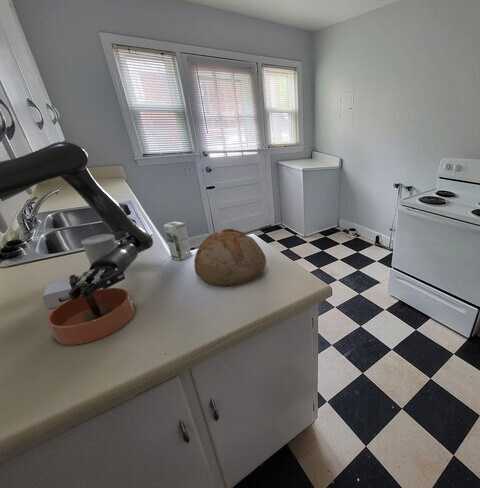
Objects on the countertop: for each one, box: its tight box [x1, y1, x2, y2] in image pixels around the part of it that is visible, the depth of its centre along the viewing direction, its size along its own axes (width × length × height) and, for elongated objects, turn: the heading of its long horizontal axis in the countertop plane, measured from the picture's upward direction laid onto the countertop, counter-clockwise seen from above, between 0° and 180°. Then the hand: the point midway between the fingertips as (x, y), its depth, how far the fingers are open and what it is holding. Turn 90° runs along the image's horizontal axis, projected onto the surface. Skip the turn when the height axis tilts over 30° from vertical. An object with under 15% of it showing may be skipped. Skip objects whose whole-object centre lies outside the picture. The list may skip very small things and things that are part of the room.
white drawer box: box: [41, 274, 83, 309], centre depth 87 cm, size 5×9×15 cm
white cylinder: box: [80, 233, 117, 266], centre depth 100 cm, size 10×10×12 cm
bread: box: [193, 228, 267, 288], centre depth 97 cm, size 26×23×15 cm
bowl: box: [46, 287, 135, 346], centre depth 74 cm, size 17×17×6 cm
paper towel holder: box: [79, 282, 112, 323], centre depth 71 cm, size 6×6×12 cm
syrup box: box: [163, 221, 193, 261], centre depth 109 cm, size 6×6×14 cm
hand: (77, 295), depth 67 cm, fingers closed on paper towel holder
